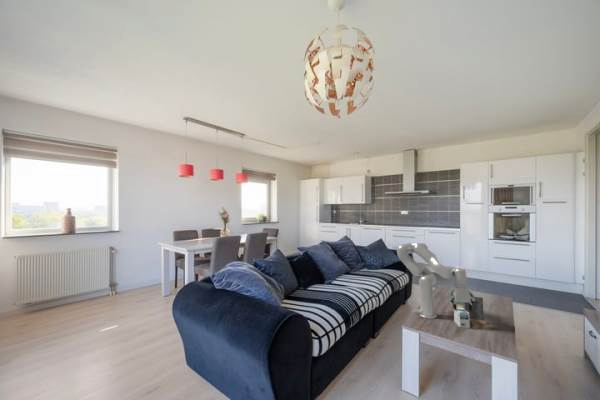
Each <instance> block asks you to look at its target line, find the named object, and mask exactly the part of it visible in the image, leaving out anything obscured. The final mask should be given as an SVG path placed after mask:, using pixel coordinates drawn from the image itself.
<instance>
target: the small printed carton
mask: <svg viewBox="0 0 600 400" xmlns="http://www.w3.org/2000/svg"><path fill="white" fill-rule="evenodd" d="M472 297H473V298H475V301H474V303H473V304H472V309H471V311H470V310H469V309H468V304H469V303H463V308H464V309H465V310H466V311H467V312H469V318H470V328H471V329H472V330H473V329H474V330H484V331H493V327H492V326H491V325H490V324H489V323H488V322H487V321H485V320H484V319H485V318H484V316H485V315H484V298H483V297H480V296H478V297H476V296H472ZM471 301H472V299H471Z"/></svg>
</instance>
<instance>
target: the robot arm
mask: <svg viewBox="0 0 600 400" xmlns="http://www.w3.org/2000/svg"><path fill="white" fill-rule="evenodd" d="M396 254H397V257H398V259H399V260H400V262H401V263H403V265H404V266H405V267H406V268H407V270H408V271H410V273H411V274H412V275H413V276H415V277H419V276H420V278H419V280H418V284H419V292H420V293H419V294H420V295H419V298H420V299H419V301H420V308H419V309H417V308H415V309H414V310H413V311H414V312H415V313H418V316H420V317H421V318H425V319H429V320H430V319H433V320H434V319H436V318H437V314H436V313H435V301H434V300H435V299H434V298H435V296H434V294H435V293H434V288H433V286H434V285H435V284H436V283H437V277H436V276H435V274H434V273H433V272H432V271H431V270H430V269H429V268H428V267H427V266H426V265H425V264H423V263H421V262H417V261H415V259H414V258H413V257H412V256H410V255H409V254H416V255H417V256H419V257H420V258H421V259H423V260H424V261H425V262H426V263H428V265H429V266H430V267H431V269H432V270H433V271H434V272H435V273H436V274H437V275H439V276H440V277H442V278H443V279H446V280H449V279H451V278H452V277H453V279H454V283H452V287H453V291H452V292H453V294H452V295H450V296H448V300H449V302H451V303H452V307H453V310H454V309H455V310H457V308H456V307H457V303H463V304H464V303H469V304H468V309H469V310H470V311H471V309H472V304H473V303H474V301H475V298H473V297H474V296H471V294H470V289H469V287H468V283H467V271H466V269H464V268H461V267H453V266H446V267H445V266H444V265H443V264H441V262H440V261H439V259H438V257H437V255H436V254H434V252H432V251H431V250H429V248H428V246H427V244H426V243H422V242H417V243H416V242H413V243H412V242H409V243H404V244H401V245H399V246H398V248H397V250H396ZM471 299H472V301H471Z"/></svg>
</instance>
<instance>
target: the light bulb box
mask: <svg viewBox="0 0 600 400" xmlns="http://www.w3.org/2000/svg"><path fill="white" fill-rule="evenodd" d="M456 308H457V310H455V309H454V308H453V320H454V321H453V322H454V323H455V324H456V325H457V326H458V327H459V328H463V329H464V328H465V329H470V328H471V326H470V318H469V312H467V311H466V310H465V309H464V307H459V306H456Z"/></svg>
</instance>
